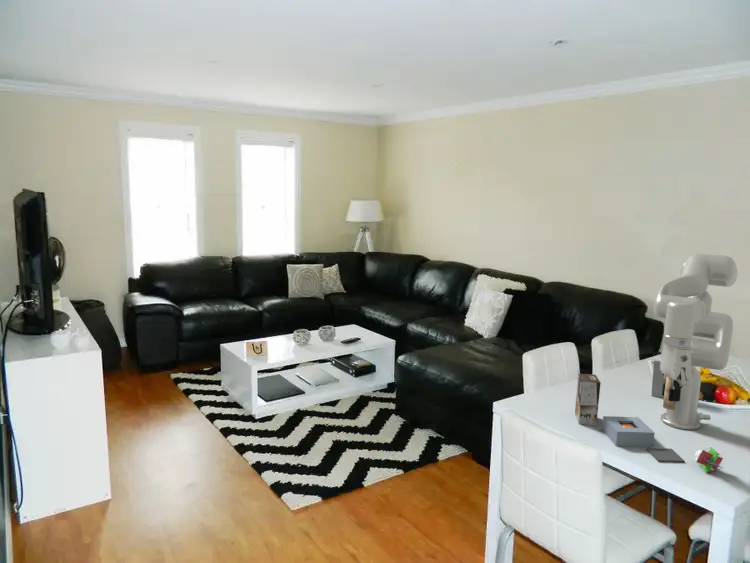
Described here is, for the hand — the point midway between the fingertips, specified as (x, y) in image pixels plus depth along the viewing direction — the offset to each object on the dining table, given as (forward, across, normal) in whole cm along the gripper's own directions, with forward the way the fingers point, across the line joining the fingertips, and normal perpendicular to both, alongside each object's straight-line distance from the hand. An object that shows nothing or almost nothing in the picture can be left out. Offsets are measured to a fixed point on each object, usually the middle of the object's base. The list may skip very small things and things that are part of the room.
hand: (670, 397), depth 169 cm
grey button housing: (+19, +12, +7) cm, 24 cm away
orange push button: (+19, +12, +7) cm, 23 cm away
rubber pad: (+19, 0, 0) cm, 19 cm away
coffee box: (+20, +26, +16) cm, 36 cm away
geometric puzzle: (+20, -8, -9) cm, 23 cm away
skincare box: (+19, +52, -24) cm, 60 cm away
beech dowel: (+3, 0, 0) cm, 3 cm away
